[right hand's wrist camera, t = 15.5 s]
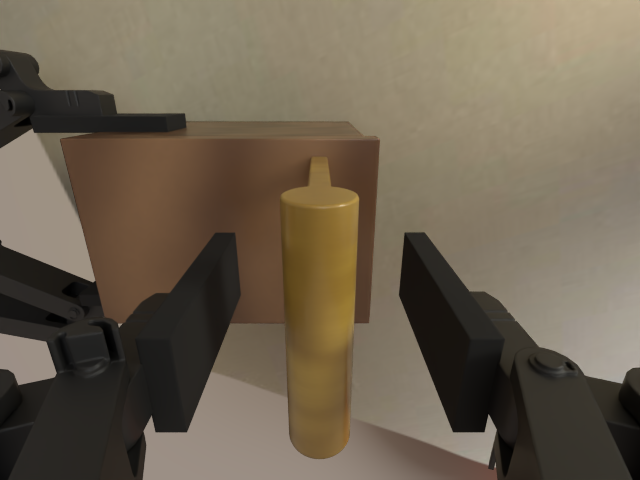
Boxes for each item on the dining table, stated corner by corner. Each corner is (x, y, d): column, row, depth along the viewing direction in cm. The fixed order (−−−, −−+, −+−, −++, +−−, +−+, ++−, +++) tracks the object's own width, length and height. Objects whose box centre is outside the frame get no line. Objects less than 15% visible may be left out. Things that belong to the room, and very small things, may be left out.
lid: (376, 135, 16) (436, 179, 8) (366, 312, 20) (402, 473, 11) (75, 135, 16) (-184, 180, 8) (116, 312, 20) (-34, 474, 11)
